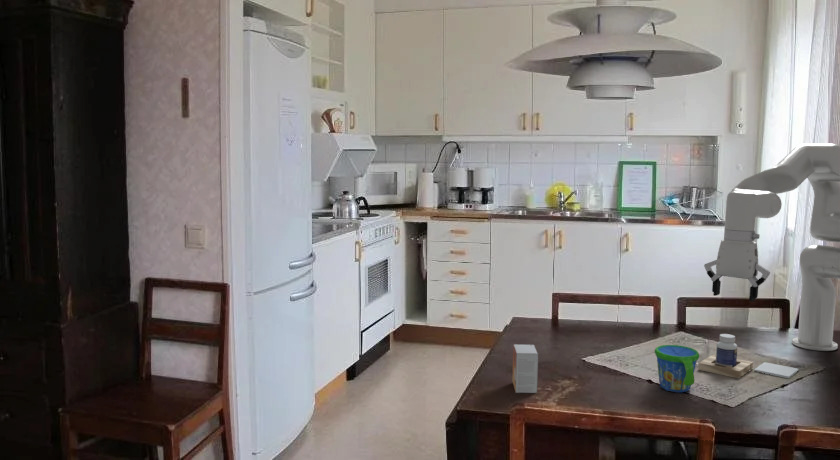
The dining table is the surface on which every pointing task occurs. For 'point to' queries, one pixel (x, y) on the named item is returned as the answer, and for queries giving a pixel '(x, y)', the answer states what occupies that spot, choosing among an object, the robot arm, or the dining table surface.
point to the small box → (525, 368)
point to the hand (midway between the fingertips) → (734, 297)
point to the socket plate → (725, 367)
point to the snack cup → (676, 367)
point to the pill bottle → (726, 350)
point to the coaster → (776, 370)
